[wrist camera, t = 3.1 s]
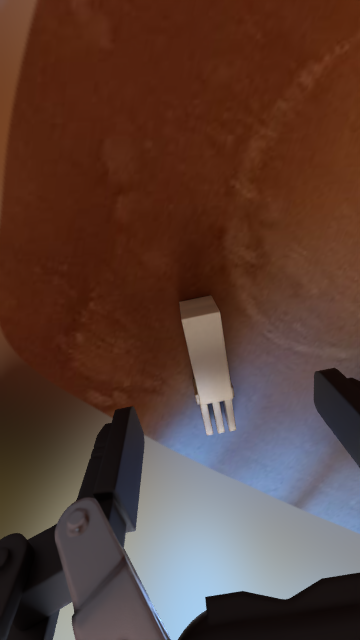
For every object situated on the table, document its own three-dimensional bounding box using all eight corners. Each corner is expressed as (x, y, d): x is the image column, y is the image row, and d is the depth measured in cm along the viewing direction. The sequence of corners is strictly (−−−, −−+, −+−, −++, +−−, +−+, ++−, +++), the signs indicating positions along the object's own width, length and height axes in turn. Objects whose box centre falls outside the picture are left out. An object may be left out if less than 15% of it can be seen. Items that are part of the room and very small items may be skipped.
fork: (175, 302, 18) (176, 320, 15) (215, 294, 18) (224, 310, 15) (202, 421, 23) (207, 452, 20) (234, 415, 23) (243, 446, 20)
